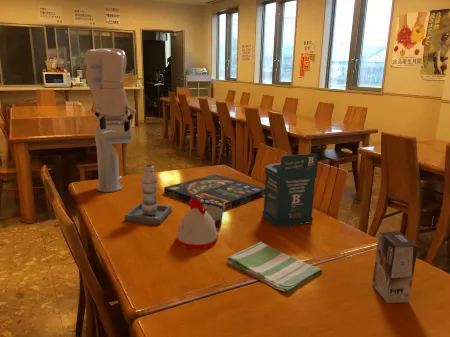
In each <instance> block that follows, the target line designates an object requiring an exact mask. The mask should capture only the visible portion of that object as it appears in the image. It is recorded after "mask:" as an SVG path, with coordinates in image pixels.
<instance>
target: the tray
mask: <svg viewBox="0 0 450 337" xmlns="http://www.w3.org/2000/svg"><path fill="white" fill-rule="evenodd" d="M172 207H173V206H172V205H162V204H158V212H157V213H156V214H155V215H151V216H147V215H144V214H143V213H142V202H141V203H140V202H139V203H138V204H137V205H135V206H134V207H133V208H132V209H130V210H129V211H128V212H126V214H124V221H125V222H128V223H137V224H138V223H139V224H148V225H154V226H155V225H156V226H157V225H158V226H160V225H161V224H162V223H163V222H165V220H166V219H167V217H168V216H169V215H171V213H172V212H173V211H172Z"/></svg>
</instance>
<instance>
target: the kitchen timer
mask: <svg viewBox="0 0 450 337" xmlns="http://www.w3.org/2000/svg"><path fill="white" fill-rule="evenodd" d="M188 203H189V204H188V205H189V208H190V210H188V211H187V212H186V213H185V215H184V216H183V217H182V219H181V220H180V223H179V224H178V227H177V228H178V229H177V234H176V235H177V236H176V242H177V244H178V245H179V246H181V247H182V248H186V249H189V250H203V249H209V248H211V247H213V246H214V245H216V244H217V242H218V233H217V229H216V227H215V220H213V219H212V217H211V216H210V215H209V213H208V212H207V211H206V209H203V205H204V204H202V205H201V200H198V199H195V200H194V198H192V199H191V200H189V202H188Z"/></svg>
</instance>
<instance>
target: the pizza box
mask: <svg viewBox="0 0 450 337" xmlns="http://www.w3.org/2000/svg"><path fill="white" fill-rule="evenodd" d="M163 190H164V191H163V192H164V194H165V195H167V196H171V197H173V198H176V199H179V200H181V201H184V202H187V203H189V200H191V199H192V198H194V200H195V199H198V198H202V197H215V198H219V199H222V200H223V201H224V203H225V209H224V210H223V212H225V211H227V210H231V209H233V208H236V207H238V206H241V205H243V204H246V203H248V202H252V201H254V200H257V199H259V198H258V197H260V198H262V197H264V196H263V195H265V186H260V185H256V184H252V183H249V182H246V181H243V180H242V181H240V180H238V179H234V178H231V177H227V176H223V175H219V174H211V175H207V176H202V177H199V178H195V179H191V180H187V181H183V182H179V183H175V184H172V185H168V186H167V185H166V186H165V187H164V188H163ZM261 196H262V197H261ZM256 198H257V199H256ZM251 200H252V201H251Z"/></svg>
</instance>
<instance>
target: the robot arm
mask: <svg viewBox="0 0 450 337" xmlns="http://www.w3.org/2000/svg"><path fill="white" fill-rule="evenodd" d="M84 58H85V64H86V69H85V78H86V79H85V80H86V82H87V85H88V88H89V90H90V93H91V94H92V97H93V107H92V111H93V113H94V115H95V118H96V121H98V122H99V124H97V125H95V127H94V129H93V136H94V140H95V145H96V156H97V157H96V158H97V171H98V173H97V174H98V175H97V176H98V184H97V185H96V186H95V190H96V191H98V192H101V193H102V192H103V193H113V192H118V191H120V190H122V189H123V188H124V186H123V184H122V183H120V181H121V180H122V179H123V177H122V176H121V175H120V167H119V166H120V165H119V164H120V163H119V152H118V150H117V148H115V147H114V145H115V144H128V143H131V142H132V141H133V138H134V137H133V136H134V133H133V125H132V119H133V118H134V117H135V114H136V112H137V110H136V109H135V108H133V107H131V106H130V105H128V104H129V103H128V97H127V91H126V89H124V81H125V76H126V69H127V56H126V52H125V51H124V50H123V49H120V48H107V47H105V48H103V47H101V48H100V47H99V48H96V49H87V50H86V52H85V57H84ZM113 144H114V145H113Z"/></svg>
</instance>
